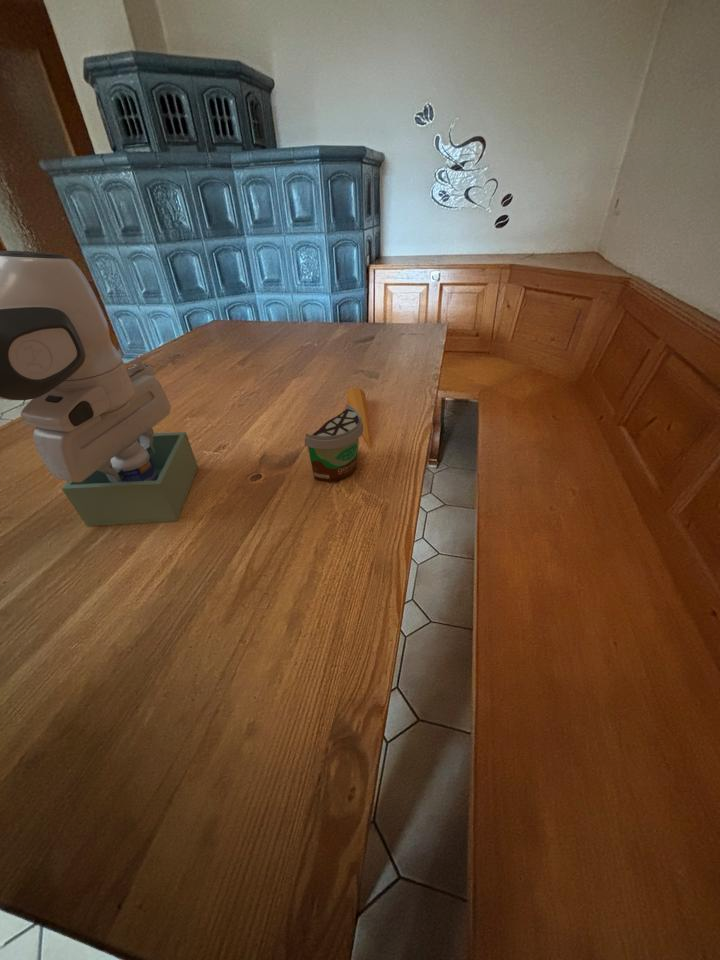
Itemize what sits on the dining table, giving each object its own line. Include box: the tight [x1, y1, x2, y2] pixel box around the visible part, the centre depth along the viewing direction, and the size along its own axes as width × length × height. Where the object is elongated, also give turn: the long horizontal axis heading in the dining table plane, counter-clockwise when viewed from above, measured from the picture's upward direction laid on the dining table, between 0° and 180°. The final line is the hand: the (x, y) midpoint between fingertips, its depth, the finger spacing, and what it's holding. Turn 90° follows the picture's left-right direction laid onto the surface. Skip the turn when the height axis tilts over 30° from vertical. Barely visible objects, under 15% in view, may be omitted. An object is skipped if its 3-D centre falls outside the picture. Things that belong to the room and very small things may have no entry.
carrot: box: [346, 386, 372, 450], centre depth 81 cm, size 20×4×4 cm, turn 10°
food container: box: [304, 403, 363, 483], centre depth 66 cm, size 12×6×10 cm, turn 147°
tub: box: [61, 431, 199, 527], centre depth 62 cm, size 14×14×8 cm
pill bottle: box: [111, 440, 159, 482], centre depth 61 cm, size 5×5×10 cm
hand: (134, 467), depth 61 cm, fingers closed on pill bottle, 5 cm apart
